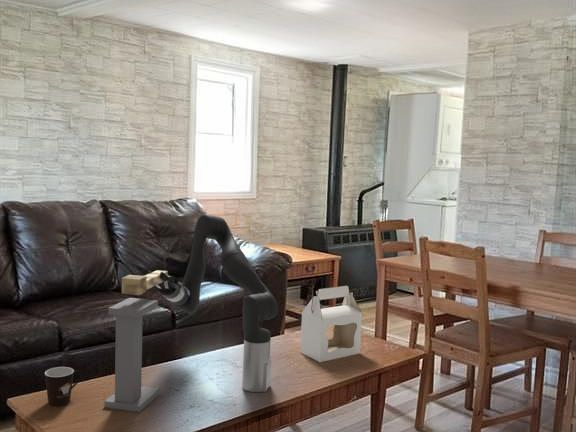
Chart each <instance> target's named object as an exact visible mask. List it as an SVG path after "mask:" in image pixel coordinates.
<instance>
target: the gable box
mask: <svg viewBox="0 0 576 432" xmlns="http://www.w3.org/2000/svg"><path fill="white" fill-rule="evenodd" d="M315 295H316V296H313V297H312V298H311V300H310V301H309V302H308V304H307V305H306V306H305V307H304V308H303V310H302V311H301V324H300V325H301V326H300V327H301V328H300V331H301V332H300V346H299V353H300V354H302V355H305V356H306V357H308V358H310V359H312V360H314V361H317V362H318V363H323V362H326V361H328V362H329V361H331V360H337V359H340V358H341V359H342V358H345V357H350V356H353V355H358V354H361V338H362V337H361V335H362V319H363V313H362V310H361V309H360V306H359V305H358V303H357V301H356V298H355V297H354V295H353V292H351V291H350V289H349V286H348V285H340V286H333V287H325V288H319V289H318V290H315ZM336 298H343V301H342V303H341V305H337V306H330V307H324V308H322V307H321V301H322V300H330V299H331V300H332V299H336ZM330 327H333V329H332V330H333V337H332V338H331V339H328V336H327V335H328V334H327V332H328V329H329V328H330Z"/></svg>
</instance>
